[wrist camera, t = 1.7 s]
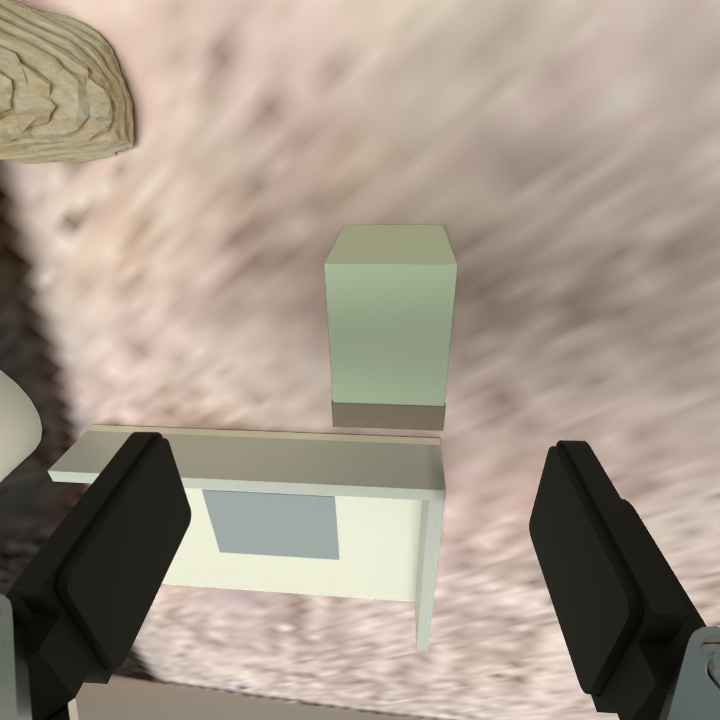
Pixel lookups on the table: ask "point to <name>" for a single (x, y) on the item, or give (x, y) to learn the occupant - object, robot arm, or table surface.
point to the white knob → (16, 425)
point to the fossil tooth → (59, 90)
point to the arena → (298, 511)
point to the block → (390, 325)
